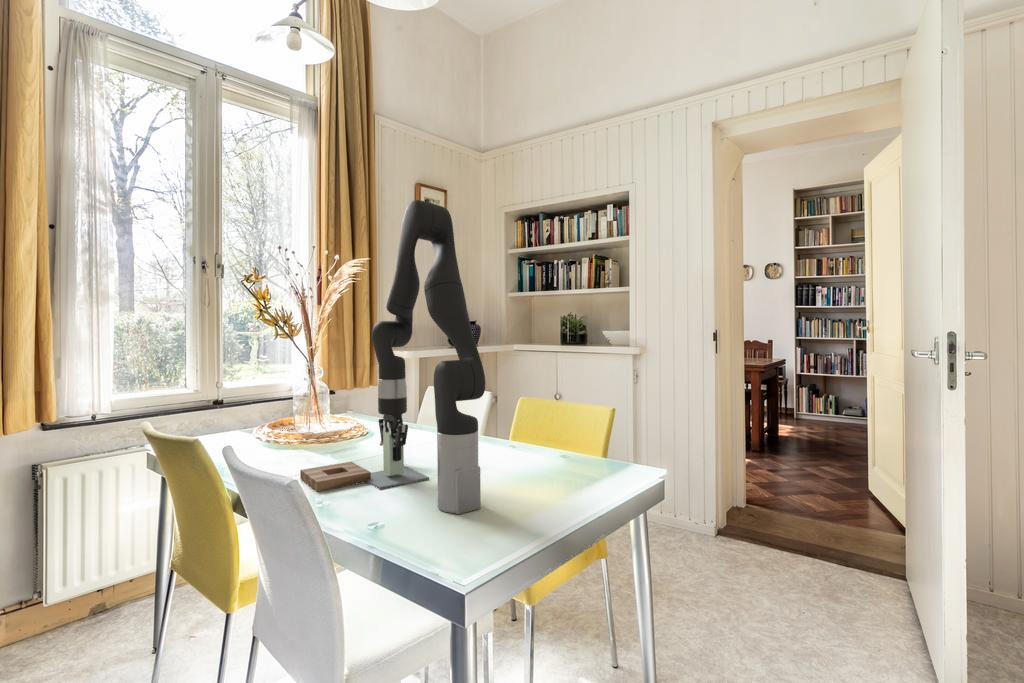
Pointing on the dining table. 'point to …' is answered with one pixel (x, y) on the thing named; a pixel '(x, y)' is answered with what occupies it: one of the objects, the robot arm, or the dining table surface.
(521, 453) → the dining table surface
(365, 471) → the walnut pocket block
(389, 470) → the sage peg
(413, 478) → the slate mat
